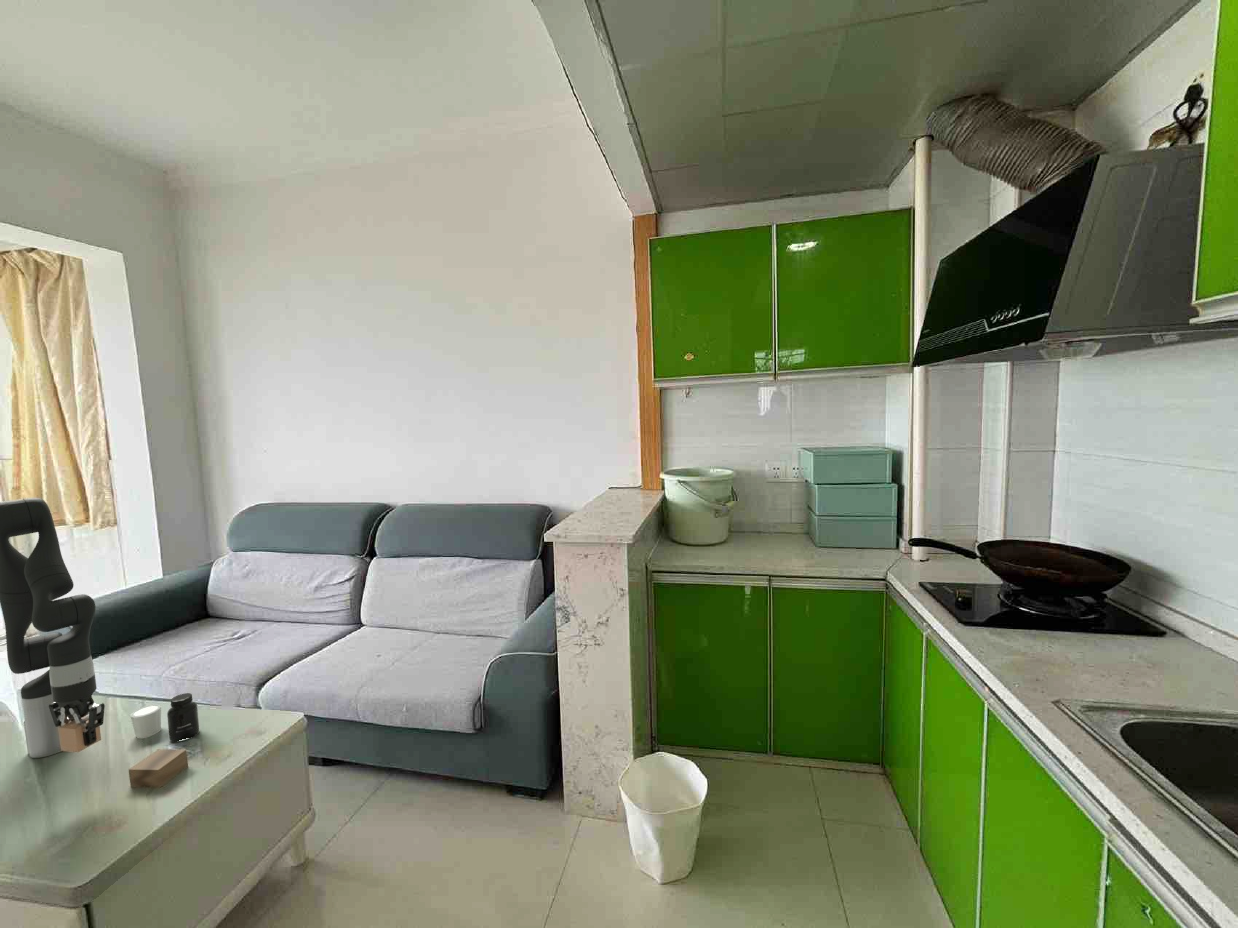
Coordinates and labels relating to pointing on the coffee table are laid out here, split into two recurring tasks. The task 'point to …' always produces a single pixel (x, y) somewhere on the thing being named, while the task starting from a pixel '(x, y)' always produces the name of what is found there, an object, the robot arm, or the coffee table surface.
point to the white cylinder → (146, 721)
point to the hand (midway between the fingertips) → (81, 742)
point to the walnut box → (158, 768)
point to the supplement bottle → (182, 718)
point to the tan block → (74, 736)
